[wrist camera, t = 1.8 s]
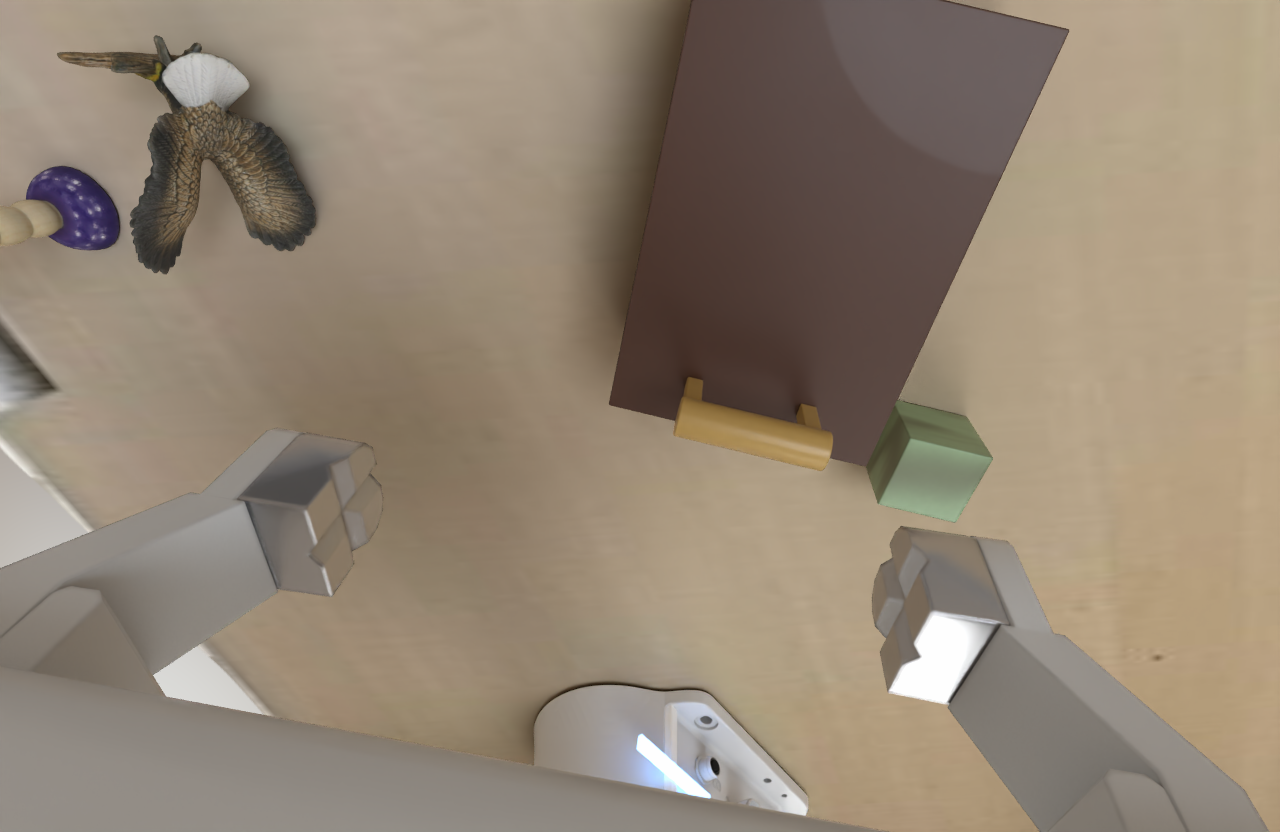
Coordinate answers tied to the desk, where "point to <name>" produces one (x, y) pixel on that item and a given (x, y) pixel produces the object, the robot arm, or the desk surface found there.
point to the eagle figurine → (206, 154)
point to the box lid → (817, 212)
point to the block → (927, 462)
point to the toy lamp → (62, 212)
